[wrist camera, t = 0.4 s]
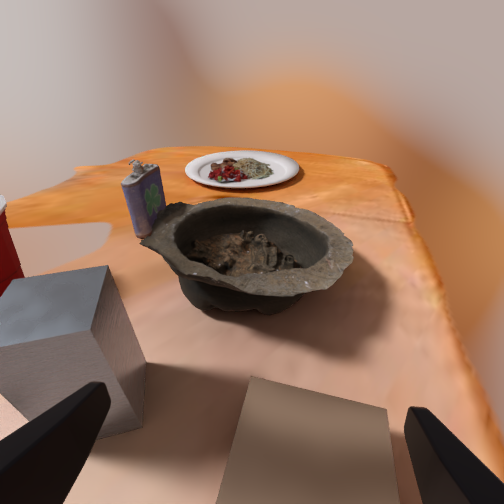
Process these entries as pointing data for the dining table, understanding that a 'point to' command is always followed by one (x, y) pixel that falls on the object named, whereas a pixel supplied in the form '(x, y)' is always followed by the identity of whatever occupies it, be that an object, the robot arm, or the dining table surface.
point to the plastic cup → (7, 253)
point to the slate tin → (70, 345)
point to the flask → (144, 196)
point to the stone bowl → (248, 252)
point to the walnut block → (308, 450)
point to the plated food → (242, 169)
